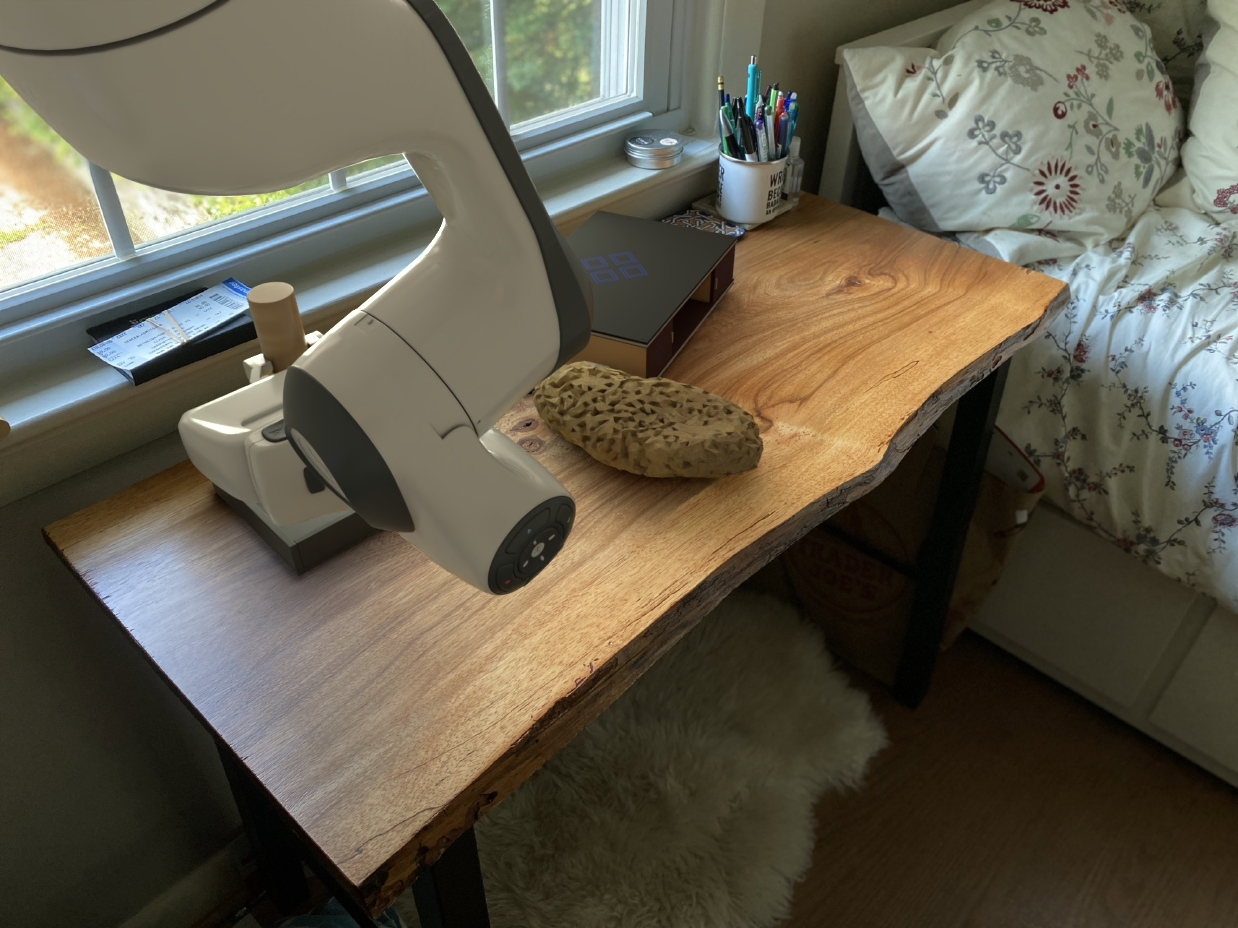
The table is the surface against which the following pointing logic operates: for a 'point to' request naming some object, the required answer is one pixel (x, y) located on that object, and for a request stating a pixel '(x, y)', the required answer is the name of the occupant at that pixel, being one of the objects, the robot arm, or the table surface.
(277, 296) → the tan cylinder
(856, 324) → the table surface
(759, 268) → the table surface
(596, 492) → the table surface
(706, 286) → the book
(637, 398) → the sponge
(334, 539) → the pan
